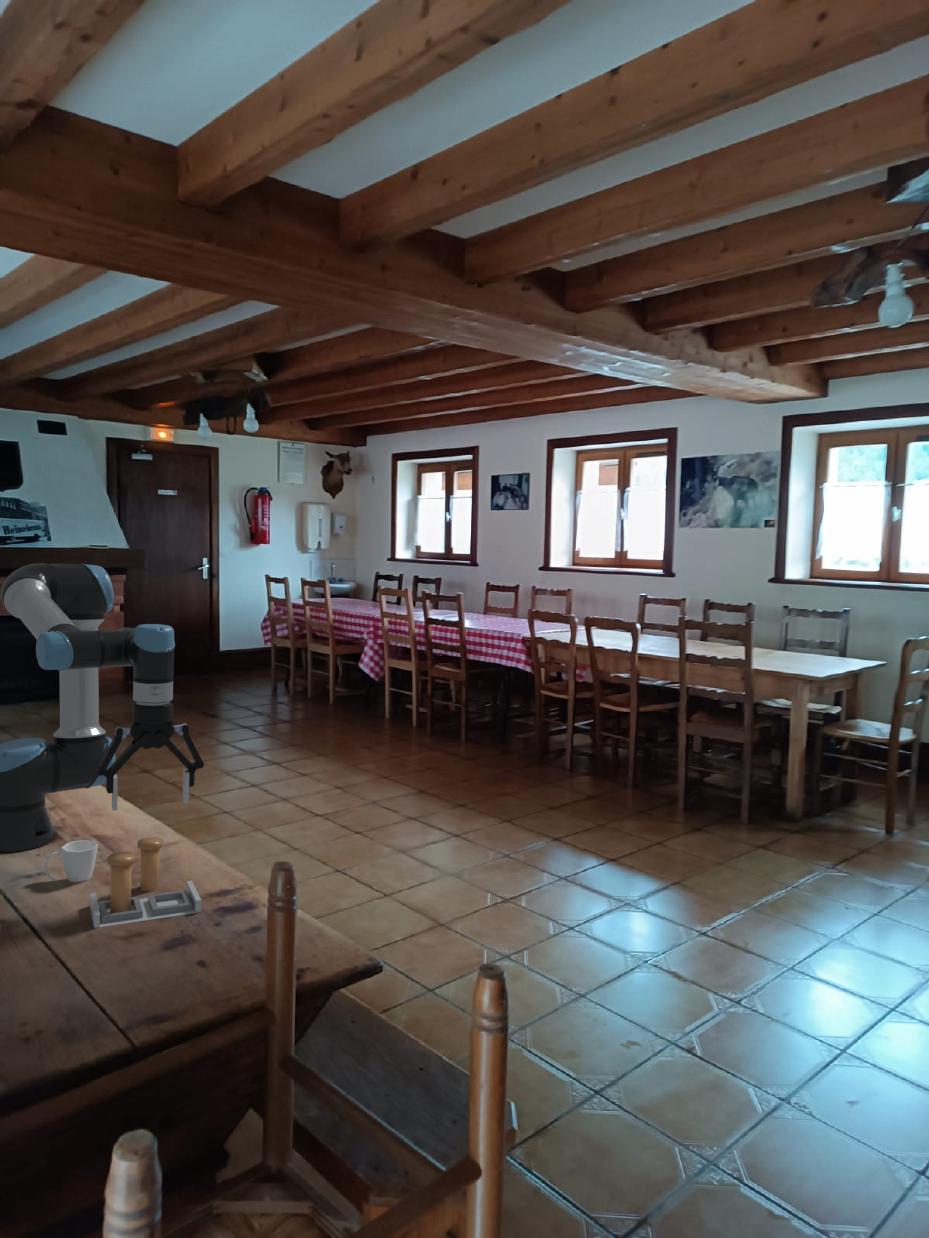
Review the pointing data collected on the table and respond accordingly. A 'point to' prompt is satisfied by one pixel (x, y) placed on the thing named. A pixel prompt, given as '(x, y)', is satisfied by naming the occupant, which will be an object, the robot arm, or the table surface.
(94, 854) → the cup
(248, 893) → the table surface
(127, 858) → the rounded wooden peg
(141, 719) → the robot arm
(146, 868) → the tan ball-headed post
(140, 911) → the tray
